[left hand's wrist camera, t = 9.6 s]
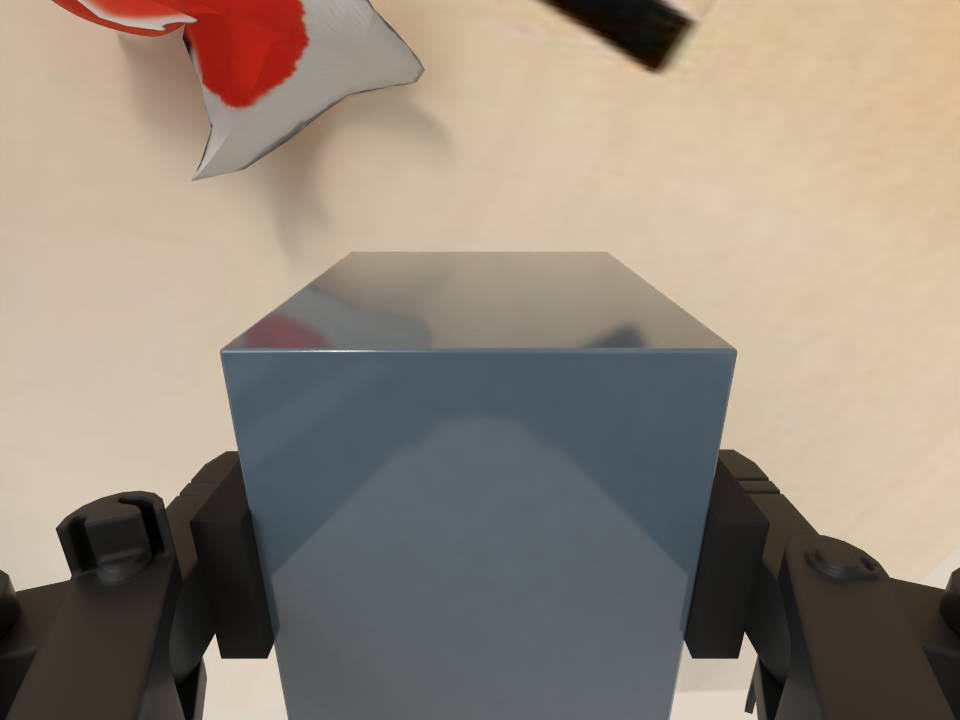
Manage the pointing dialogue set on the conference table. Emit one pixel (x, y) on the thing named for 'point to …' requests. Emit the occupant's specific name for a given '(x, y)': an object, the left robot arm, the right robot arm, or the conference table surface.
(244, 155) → the fish
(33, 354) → the conference table surface
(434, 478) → the cube
